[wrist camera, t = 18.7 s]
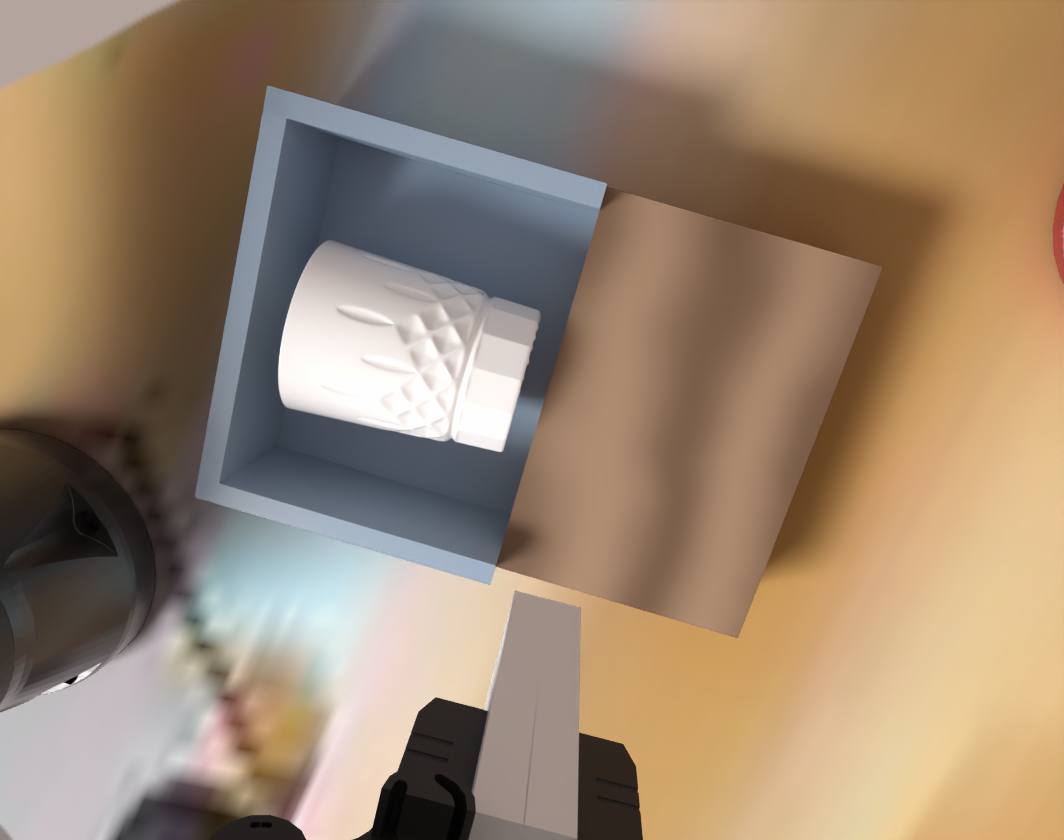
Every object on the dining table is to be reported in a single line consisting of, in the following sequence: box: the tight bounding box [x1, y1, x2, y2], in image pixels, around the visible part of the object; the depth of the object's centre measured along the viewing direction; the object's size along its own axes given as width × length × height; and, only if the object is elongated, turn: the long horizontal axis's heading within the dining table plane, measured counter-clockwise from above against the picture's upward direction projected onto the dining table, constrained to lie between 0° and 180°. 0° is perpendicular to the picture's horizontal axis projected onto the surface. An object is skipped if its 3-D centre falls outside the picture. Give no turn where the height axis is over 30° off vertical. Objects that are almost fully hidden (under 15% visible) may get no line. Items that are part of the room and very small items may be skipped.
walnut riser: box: [496, 187, 883, 638], centre depth 36 cm, size 12×18×5 cm, turn 165°
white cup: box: [278, 240, 541, 452], centre depth 35 cm, size 8×8×10 cm
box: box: [195, 85, 607, 585], centre depth 35 cm, size 14×18×7 cm
